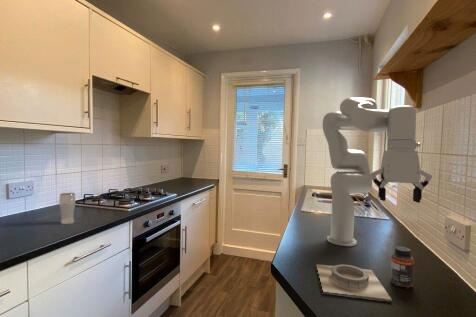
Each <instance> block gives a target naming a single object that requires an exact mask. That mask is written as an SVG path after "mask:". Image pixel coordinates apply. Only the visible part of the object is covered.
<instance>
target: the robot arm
mask: <svg viewBox="0 0 476 317" xmlns="http://www.w3.org/2000/svg"><path fill="white" fill-rule="evenodd" d="M341 101H342V102H340V104H339V110H340V111H330V112H327V113H325V115H324V116H323V118H322V131H323V135H324V136H325V138H326V142H327V146H328V152H329V159H330V165H331V167H332V168H333V169H335V170H337V172H334V173H333V174H332V175H331V177H330V189H331V218H330V234H329V235H327V236H326V241H328V243H331V244H332V245H336V246H340V247H341V246H342V247H354V246H356V245H357V244H358V243H357V242H358V240H357V239H356V238H354V226H355V224H354V223H355V204H356V203H355V201H354V199H353V197H352V196H351V194H367V193H369V192H370V191H371V190H372V188H373V183H374V184H375V185H376V187H377V188H378V190H377V191H378V192H377V194H378V198H379V200H380V201H382V202H385V201H386V196H387V189H386V185H387V184H388V183H398V184H402V183H403V184H412V185H413V187H414V188H413V190H412V201H413V202H414V203H418V204H421V200H422V198H423V197H422V194H423V190H424V189H425V187H426V186H427V185H429V182H430V181H431V179H432V178H433V175H431V174H430V173H427V172H425V171H424V170H421V165H420V158H419V157H420V156H419V152H418V151H417V150H416V149H417V148H420V147H421V143H420V142H417V140H416V128H417V127H416V125H417V121H416V120H417V109H416V108H415V107H414V106H412V105H397V106H393V107H390V108H389V109H378V105H377V102H376V100H375V99H373V98H369V97H354V96H353V97H346V98H345V99H344V100H341ZM358 130H359V131H363V132H367V133H387V134H386V136H387V138H386V150H383V154H382V158H381V165H380V168H379V169H377V170H374V171H373V172H371V169H370V164H369V158H368V156H367V154H366V153H365V152H364V151H363V150H360V149H350V148H349V145H348V140H347V138H346V137H345V136H344V135H343V134H342V132H340V131H358ZM338 170H339V171H338ZM378 175H380V177H379V178H380V180H379V179H378V178H377V176H378ZM421 177H423V180H422V181H421V180H420V179H421Z"/></svg>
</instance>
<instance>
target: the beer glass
mask: <svg viewBox="0 0 476 317" xmlns="http://www.w3.org/2000/svg"><path fill="white" fill-rule="evenodd" d="M58 200H59V202H58V204H59V211H60V215H61V218H60V222H59V223H60V224H61V225H70V224H74V223H75V218H74V217H75V216H74V214H75V213H74V212H75V210H76V209H75V208H76V193H75V192H64V193H63V192H62V193H59V199H58Z"/></svg>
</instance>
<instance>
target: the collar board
mask: <svg viewBox="0 0 476 317" xmlns="http://www.w3.org/2000/svg"><path fill="white" fill-rule="evenodd" d="M316 267H317V268H316V271H317V270H318V272H317V275H318V274H319V276H318V279H319V278H320V281H319V283H320V282H321V285H320V287H321V286H322V289H321V291H322V290H323V292H329V293H338V294H347V295H356V296H362V297H369V298H378V299H385V300H391V301H392V302H393V299H392V297H391V296H390V295H389V293H388V292H387V290H386V289H385V287H384V285H383V284H382V283H381V282H380V280H379V279H378V278H377V277H378V276H376V274H375V273H374V272H373V270H372V269H367V268H366V269H364V268H361V267H358V266H354V265H351V264H343V263H341V264H335V265H326V264H316Z"/></svg>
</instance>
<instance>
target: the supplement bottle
mask: <svg viewBox="0 0 476 317" xmlns="http://www.w3.org/2000/svg"><path fill="white" fill-rule="evenodd" d="M394 251H395V252H393V253H392V254H391V259H390V260H391V263H390V282H391V283H392V284H393V283H394V284H396V285H398V286H401V287H407V288H406V289H410V288H409V287H411V288H412V287H413V286H414V266H415V265H414V264H415V260H414V257H413V256H412V255H411V249H410V248H408V247H405V246H395V248H394ZM394 284H393V285H394ZM396 285H395V286H396ZM398 286H397V287H398ZM401 287H400V288H401Z"/></svg>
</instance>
